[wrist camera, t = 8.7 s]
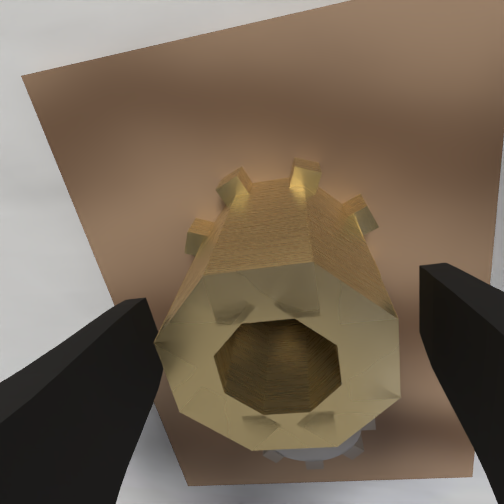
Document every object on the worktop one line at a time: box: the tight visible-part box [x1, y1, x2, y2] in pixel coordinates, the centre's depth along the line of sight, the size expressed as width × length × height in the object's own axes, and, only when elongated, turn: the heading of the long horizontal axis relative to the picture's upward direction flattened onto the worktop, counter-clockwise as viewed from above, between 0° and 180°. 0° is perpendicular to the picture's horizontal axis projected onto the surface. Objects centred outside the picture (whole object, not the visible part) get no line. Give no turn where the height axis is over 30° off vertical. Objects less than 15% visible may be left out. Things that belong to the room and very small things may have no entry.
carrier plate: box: [21, 0, 504, 486], centre depth 14 cm, size 20×14×4 cm
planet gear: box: [154, 157, 401, 451], centre depth 11 cm, size 6×6×6 cm
